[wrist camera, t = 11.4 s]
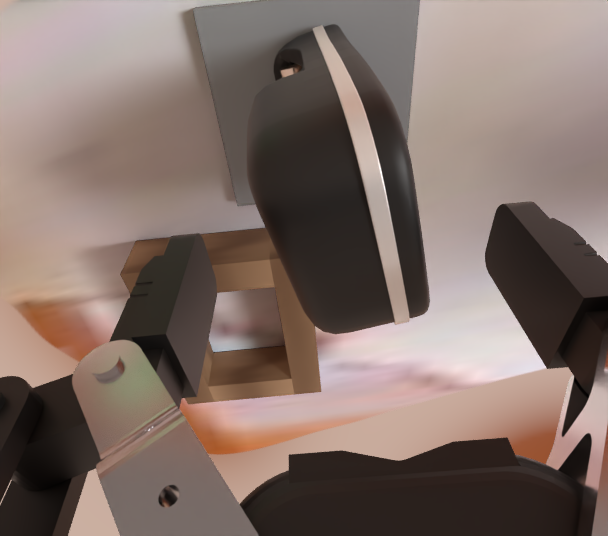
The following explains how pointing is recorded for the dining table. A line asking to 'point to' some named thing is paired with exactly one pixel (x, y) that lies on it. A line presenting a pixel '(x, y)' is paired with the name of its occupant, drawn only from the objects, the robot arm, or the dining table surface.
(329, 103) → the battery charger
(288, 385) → the frame
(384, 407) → the dining table surface
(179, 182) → the dining table surface
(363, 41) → the mat
